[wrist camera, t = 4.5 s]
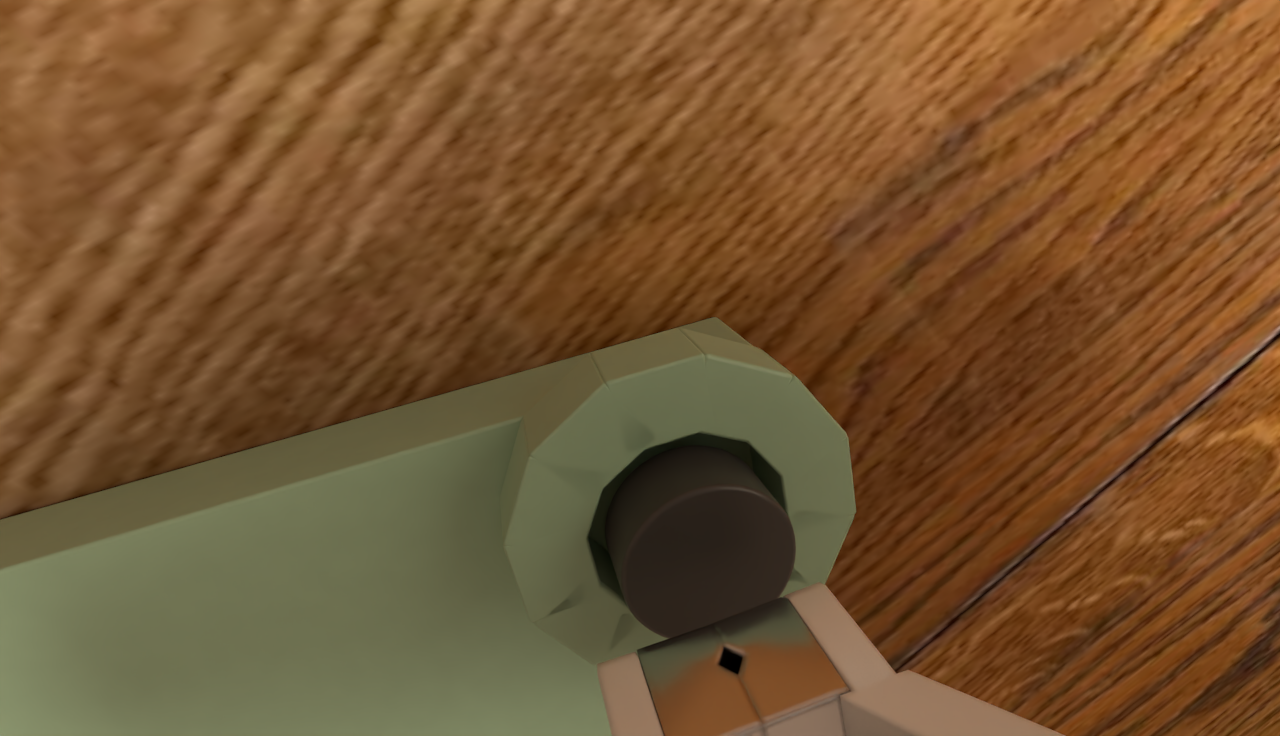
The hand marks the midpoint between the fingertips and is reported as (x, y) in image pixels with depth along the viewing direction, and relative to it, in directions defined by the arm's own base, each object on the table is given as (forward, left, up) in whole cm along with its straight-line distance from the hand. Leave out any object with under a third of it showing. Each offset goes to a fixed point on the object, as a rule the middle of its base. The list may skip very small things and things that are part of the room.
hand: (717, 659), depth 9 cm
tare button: (0, 0, -3) cm, 3 cm away
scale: (+5, +4, -6) cm, 8 cm away
